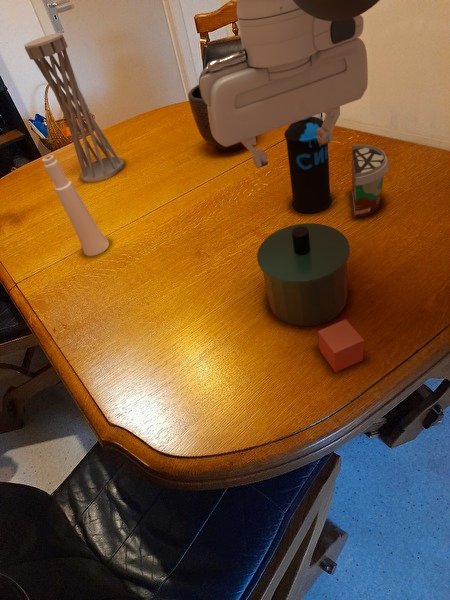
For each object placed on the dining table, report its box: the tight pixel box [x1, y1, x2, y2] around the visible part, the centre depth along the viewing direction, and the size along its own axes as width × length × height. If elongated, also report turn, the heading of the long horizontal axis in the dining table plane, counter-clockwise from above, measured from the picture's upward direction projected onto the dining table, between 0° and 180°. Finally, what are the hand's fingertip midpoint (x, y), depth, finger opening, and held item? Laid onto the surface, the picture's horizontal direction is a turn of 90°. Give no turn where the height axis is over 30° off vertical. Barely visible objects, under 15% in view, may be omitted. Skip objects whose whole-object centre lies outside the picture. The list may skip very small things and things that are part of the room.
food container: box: [351, 144, 389, 219], centre depth 79 cm, size 12×6×10 cm, turn 171°
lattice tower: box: [23, 32, 125, 183], centre depth 111 cm, size 14×13×35 cm
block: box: [317, 318, 365, 373], centre depth 56 cm, size 4×4×4 cm
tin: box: [262, 261, 348, 327], centre depth 64 cm, size 13×13×10 cm
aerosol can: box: [283, 116, 332, 214], centre depth 80 cm, size 8×8×20 cm
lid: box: [256, 222, 351, 284], centre depth 60 cm, size 14×14×5 cm
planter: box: [187, 84, 246, 154], centre depth 110 cm, size 17×17×16 cm
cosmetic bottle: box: [42, 154, 110, 257], centre depth 85 cm, size 6×6×22 cm
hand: (293, 153), depth 55 cm, fingers open, 8 cm apart
